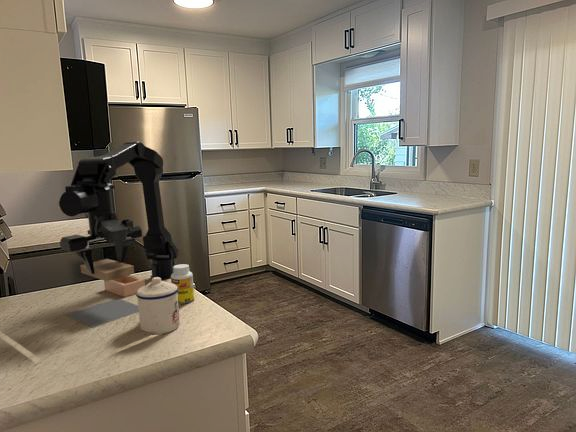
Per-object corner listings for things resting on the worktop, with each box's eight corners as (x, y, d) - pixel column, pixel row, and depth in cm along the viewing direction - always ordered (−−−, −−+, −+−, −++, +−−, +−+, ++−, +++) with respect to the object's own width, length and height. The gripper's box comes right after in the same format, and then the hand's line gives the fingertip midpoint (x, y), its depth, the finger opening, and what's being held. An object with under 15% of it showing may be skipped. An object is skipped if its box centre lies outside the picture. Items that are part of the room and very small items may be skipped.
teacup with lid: (183, 331, 93) (179, 280, 92) (140, 339, 90) (135, 286, 88) (177, 312, 104) (173, 267, 103) (138, 319, 101) (134, 272, 100)
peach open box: (125, 286, 128) (124, 273, 127) (145, 293, 121) (144, 279, 120) (105, 292, 123) (103, 279, 122) (125, 299, 116) (123, 285, 115)
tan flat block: (107, 265, 114) (107, 258, 113) (134, 273, 106) (133, 265, 105) (81, 272, 108) (80, 265, 108) (106, 281, 100) (106, 273, 100)
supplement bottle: (169, 307, 108) (166, 269, 107) (177, 299, 114) (174, 263, 112) (190, 307, 108) (187, 268, 106) (197, 299, 113) (194, 263, 112)
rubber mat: (118, 301, 115) (117, 298, 115) (147, 311, 106) (146, 308, 106) (65, 317, 104) (64, 314, 104) (92, 331, 95) (92, 327, 95)
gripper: (77, 218, 92) (85, 286, 95) (151, 206, 106) (157, 265, 109) (55, 214, 99) (63, 278, 102) (127, 203, 113) (133, 259, 116)
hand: (107, 270), depth 107 cm, fingers closed on tan flat block, 7 cm apart
